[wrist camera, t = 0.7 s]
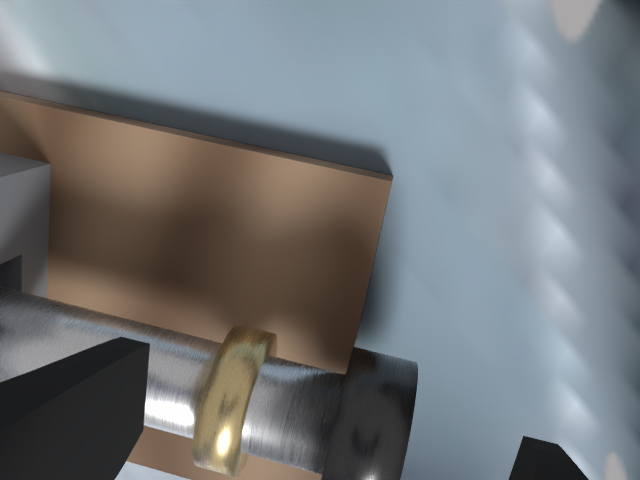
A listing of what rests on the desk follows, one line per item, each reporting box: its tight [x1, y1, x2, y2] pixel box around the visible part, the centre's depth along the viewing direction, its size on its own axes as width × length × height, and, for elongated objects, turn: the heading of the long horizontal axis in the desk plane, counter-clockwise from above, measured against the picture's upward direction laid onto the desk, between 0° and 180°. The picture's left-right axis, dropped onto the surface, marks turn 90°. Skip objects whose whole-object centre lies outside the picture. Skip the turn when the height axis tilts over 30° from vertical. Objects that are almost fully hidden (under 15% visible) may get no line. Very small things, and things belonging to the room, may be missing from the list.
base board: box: [0, 91, 393, 480], centre depth 23 cm, size 26×14×1 cm, turn 80°
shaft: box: [0, 286, 418, 480], centre depth 18 cm, size 18×5×5 cm, turn 80°
